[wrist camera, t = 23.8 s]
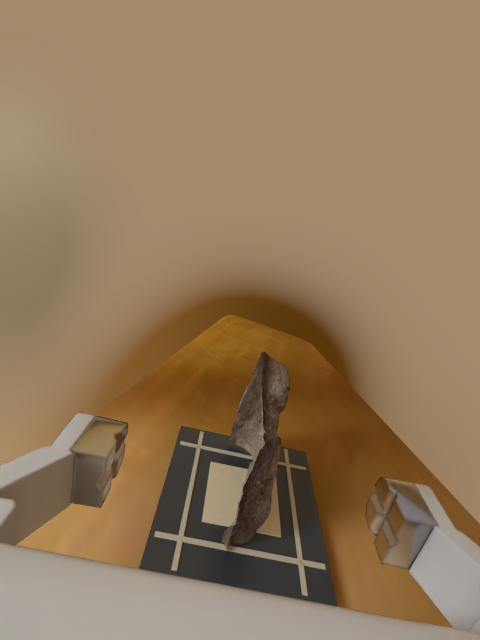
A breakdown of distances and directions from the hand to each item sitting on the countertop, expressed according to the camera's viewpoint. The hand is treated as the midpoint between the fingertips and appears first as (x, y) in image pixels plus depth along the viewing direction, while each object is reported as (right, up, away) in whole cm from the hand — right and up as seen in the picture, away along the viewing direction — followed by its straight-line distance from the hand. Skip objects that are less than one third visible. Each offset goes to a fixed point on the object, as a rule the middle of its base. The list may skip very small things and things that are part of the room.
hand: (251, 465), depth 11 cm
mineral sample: (-1, -15, +30) cm, 33 cm away
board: (0, -17, +30) cm, 34 cm away
